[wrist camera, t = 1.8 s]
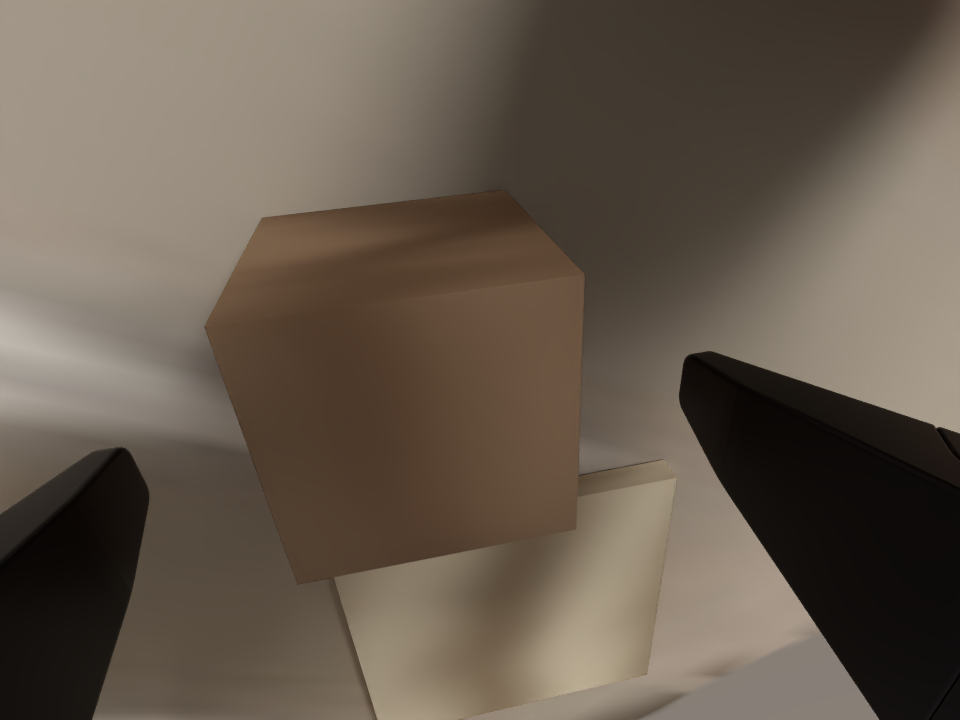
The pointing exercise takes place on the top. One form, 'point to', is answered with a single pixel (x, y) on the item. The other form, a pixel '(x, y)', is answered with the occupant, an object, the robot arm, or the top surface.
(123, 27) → the top surface
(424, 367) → the walnut cube
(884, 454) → the robot arm
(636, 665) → the birch coaster
